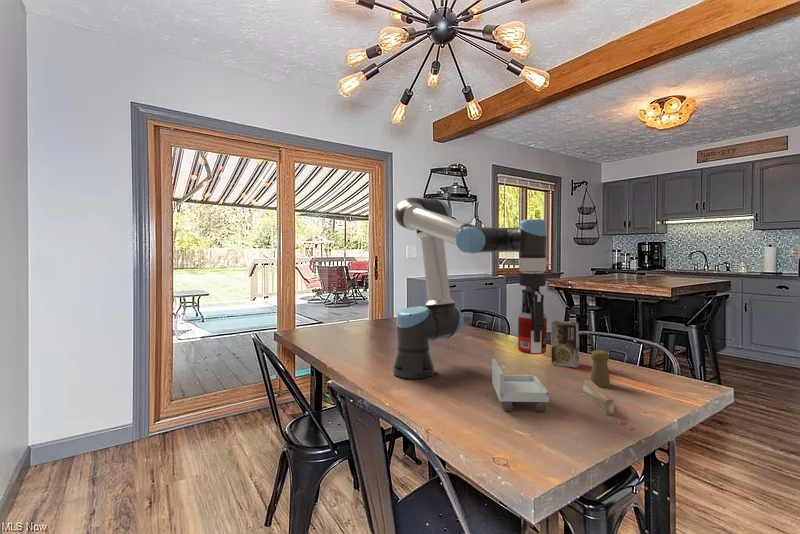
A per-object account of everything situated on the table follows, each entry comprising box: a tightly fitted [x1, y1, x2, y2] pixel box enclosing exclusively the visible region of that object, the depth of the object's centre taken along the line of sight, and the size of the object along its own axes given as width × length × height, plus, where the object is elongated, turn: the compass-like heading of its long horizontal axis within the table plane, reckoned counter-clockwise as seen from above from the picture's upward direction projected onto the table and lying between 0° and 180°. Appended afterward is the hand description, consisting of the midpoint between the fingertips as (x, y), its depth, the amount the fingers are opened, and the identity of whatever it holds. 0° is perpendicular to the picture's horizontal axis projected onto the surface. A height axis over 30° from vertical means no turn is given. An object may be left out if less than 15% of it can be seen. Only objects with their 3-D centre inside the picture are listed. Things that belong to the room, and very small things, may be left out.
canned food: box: [517, 312, 548, 355], centre depth 117 cm, size 8×8×11 cm
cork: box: [589, 349, 611, 389], centre depth 128 cm, size 6×6×11 cm
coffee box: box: [550, 320, 580, 369], centre depth 150 cm, size 9×6×16 cm
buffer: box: [582, 379, 615, 416], centre depth 113 cm, size 2×16×4 cm, turn 175°
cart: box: [491, 358, 550, 413], centre depth 115 cm, size 13×15×10 cm
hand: (531, 348), depth 118 cm, fingers closed on canned food, 8 cm apart
